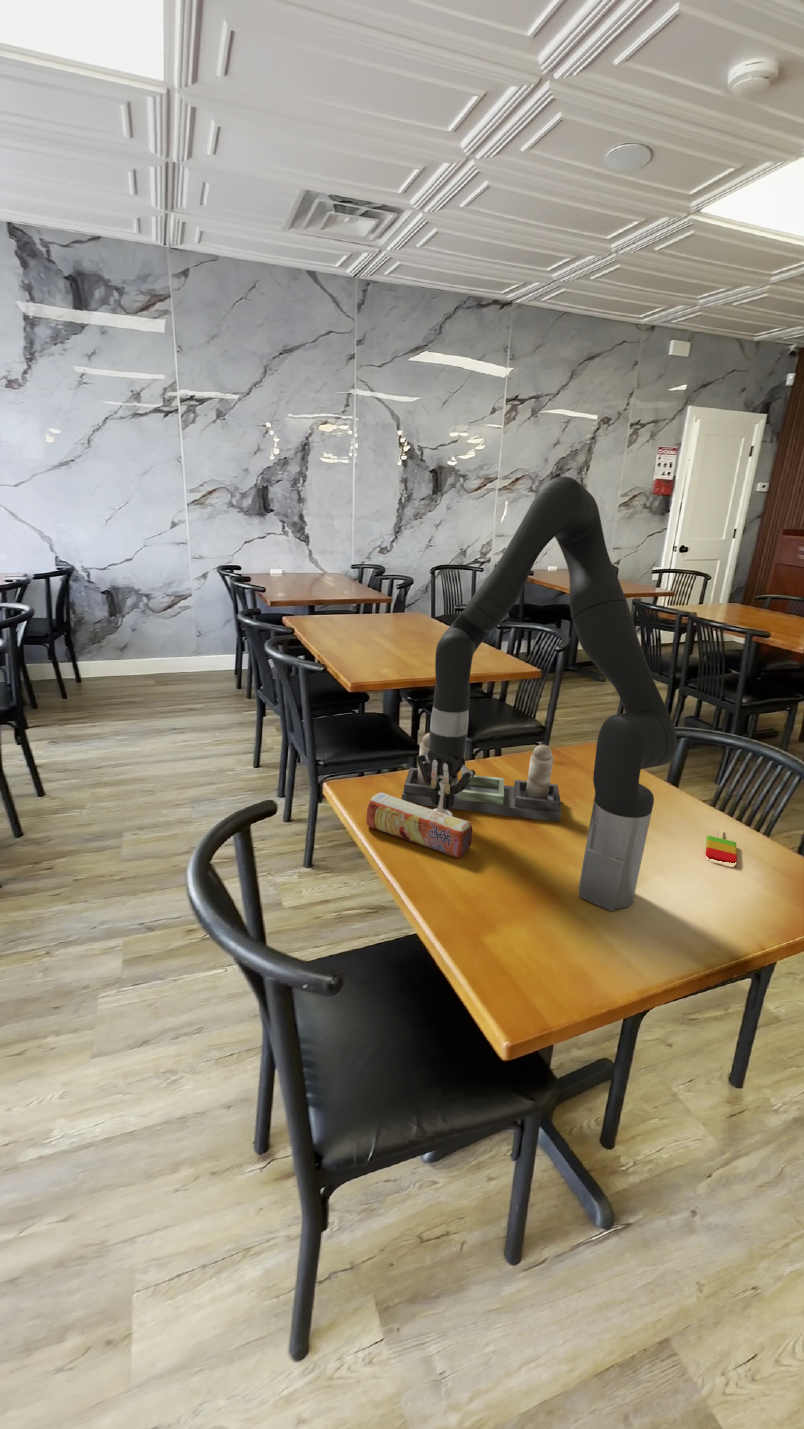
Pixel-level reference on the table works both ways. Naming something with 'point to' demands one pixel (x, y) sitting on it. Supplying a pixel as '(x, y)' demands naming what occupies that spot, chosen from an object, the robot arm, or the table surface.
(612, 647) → the robot arm
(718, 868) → the table surface
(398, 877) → the table surface
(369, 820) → the snack package
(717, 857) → the popsicle
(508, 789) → the grey peg holder
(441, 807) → the chess piece
